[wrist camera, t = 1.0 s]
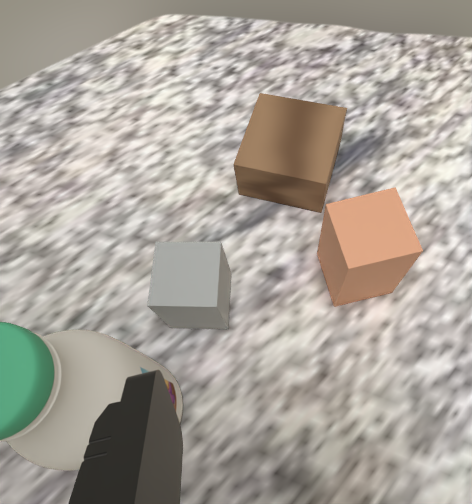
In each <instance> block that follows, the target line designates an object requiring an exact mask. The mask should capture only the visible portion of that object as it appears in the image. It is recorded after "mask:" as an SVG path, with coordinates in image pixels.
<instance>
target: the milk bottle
mask: <svg viewBox="0 0 472 504" xmlns="http://www.w3.org/2000/svg"><path fill="white" fill-rule="evenodd" d="M154 370H160V371H161V373H162V375H163V377H164V380H165V383H166V386H167V388H168V391H169V394H170V397H171V400H172V402H173V405H174V408H175V411H176V414H177V416H178V419H179V423H180V421H181V417H182V411H183V401H182V394H181V391H180V388H179V385H178V383H177V381H176V380H175V378H174V377H173V375H172V374H171V373H170V372H169V371H168V370H167V369H166V368H165V367H163V366H162V365H160V364H159V363H157V362H156V361H154V360H152V359H151V358H149V357H147V356H146V355H144V354H142V353H141V352H139V351H137V350H135V349H134V348H132V347H130V346H128V345H126V344H125V343H123V342H121V341H119V340H117V339H115V338H112V337H110V336H108V335H105V334H102V333H99V332H94V331H89V330H66V331H60V332H55V333H52V334H49V335H46V336H44V337H43V336H41V335H39V334H37V333H34V332H31V331H29V330H27V329H25V328H23V327H20V326H17V325H14V324H11V323H6V322H0V442H3V441H7V442H8V444H9V445H10V446H11V447H12V448H13V449H14V450H15V451H16V452H17V453H18V454H19V455H21V456H22V457H23V458H25V459H26V460H28V461H30V462H32V463H34V464H37V465H39V466H42V467H45V468H49V469H55V470H63V471H71V470H80V466H81V463H82V462H83V461H84V458H83V457H84V454H85V451H86V448H87V445H89V438H90V435H91V432H92V429H93V426H94V423H95V421H96V420H97V419H98V417H99V416H100V415H101V413H102V412H103V411H104V410H105V408H106V407H107V406H108V404H111V403H115V402H119V401H121V397H122V393H123V389H124V385H125V382H126V379H127V377H130V376H134V375H138V374H142V373H146V372H150V371H154Z"/></svg>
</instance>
